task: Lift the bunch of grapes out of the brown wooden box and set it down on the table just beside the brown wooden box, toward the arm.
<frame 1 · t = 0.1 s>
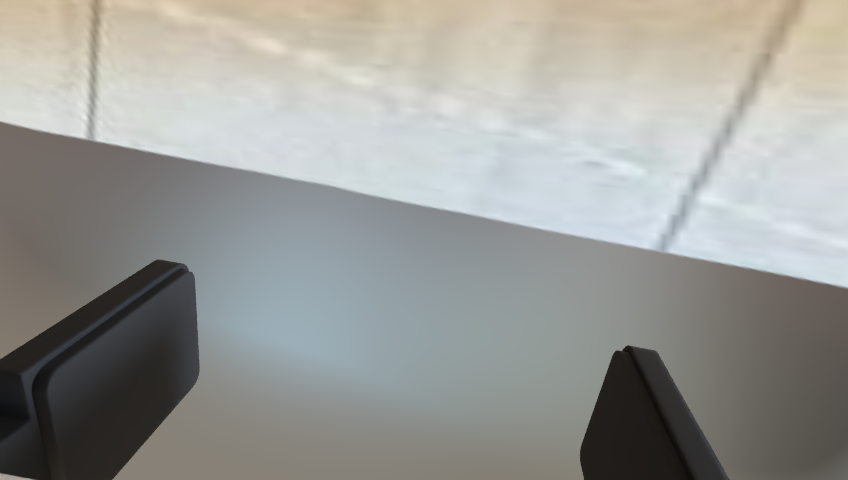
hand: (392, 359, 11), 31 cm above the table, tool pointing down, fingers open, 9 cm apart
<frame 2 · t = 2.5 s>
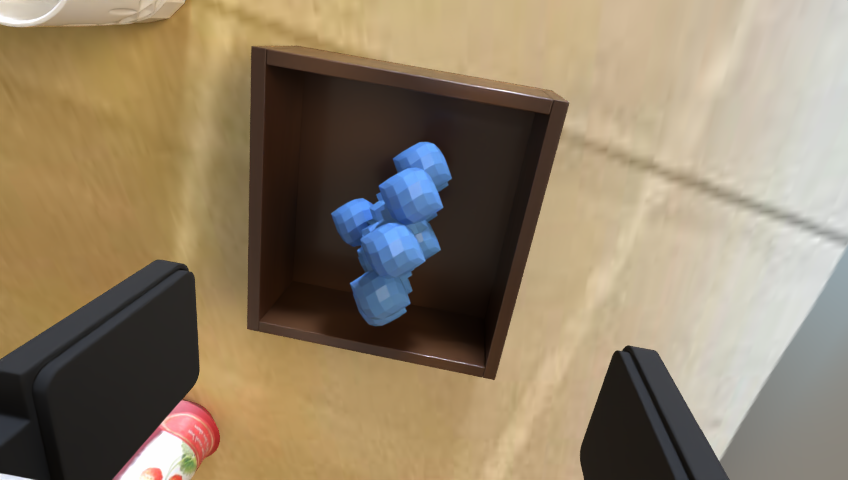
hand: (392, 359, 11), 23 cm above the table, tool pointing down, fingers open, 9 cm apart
brown wooden box: (403, 198, 34), on the table
grapes: (402, 199, 34), resting on brown wooden box
liquor: (192, 418, 45), on the table
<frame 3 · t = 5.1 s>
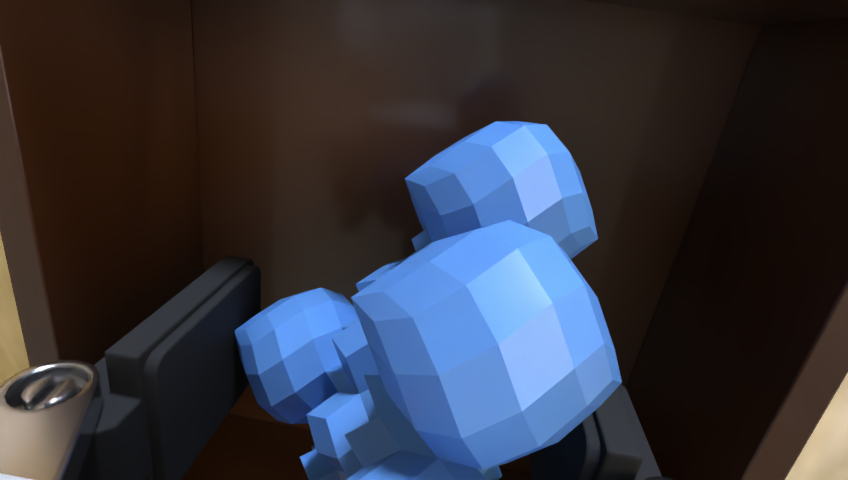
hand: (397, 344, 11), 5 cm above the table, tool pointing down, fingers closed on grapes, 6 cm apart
brown wooden box: (424, 254, 16), on the table
grapes: (423, 258, 16), resting on brown wooden box, touching gripper
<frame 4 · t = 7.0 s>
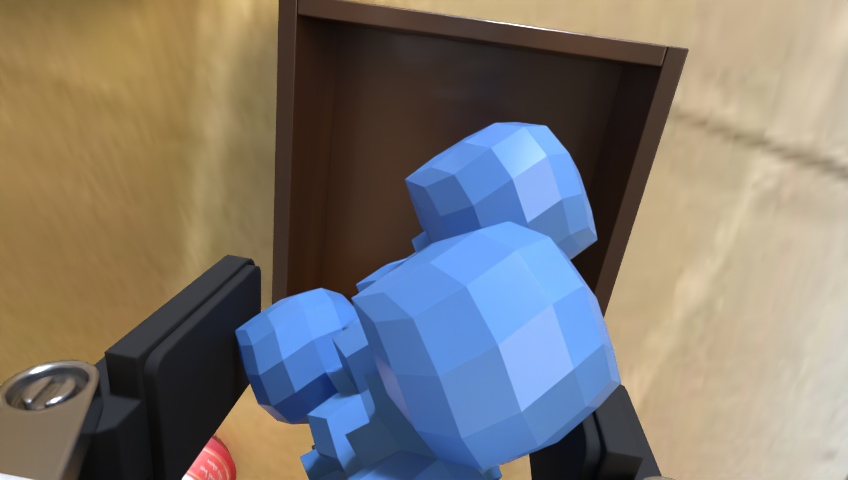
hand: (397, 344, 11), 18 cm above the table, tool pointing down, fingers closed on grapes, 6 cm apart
brown wooden box: (454, 189, 28), on the table
grapes: (423, 258, 16), point 13 cm above the table, touching gripper
liquor: (205, 450, 39), on the table
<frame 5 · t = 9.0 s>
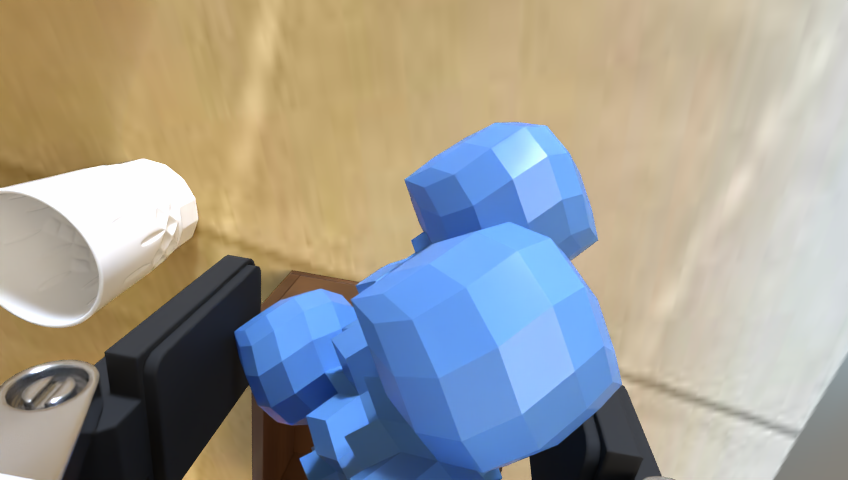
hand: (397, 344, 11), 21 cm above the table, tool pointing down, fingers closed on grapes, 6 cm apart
brown wooden box: (391, 389, 37), on the table
grapes: (423, 259, 16), point 16 cm above the table, touching gripper
white cup: (156, 204, 34), on the table
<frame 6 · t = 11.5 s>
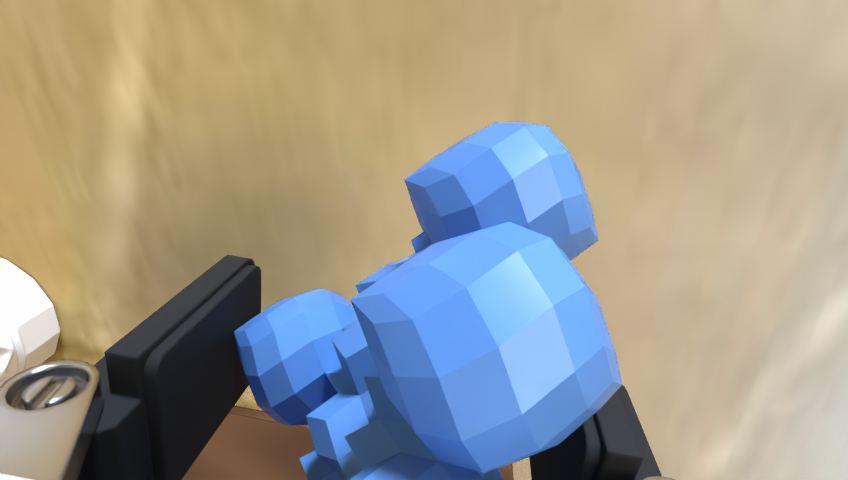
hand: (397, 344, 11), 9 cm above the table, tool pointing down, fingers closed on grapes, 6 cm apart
grapes: (423, 258, 16), point 4 cm above the table, touching gripper
white cup: (2, 308, 24), on the table
when the fingers open (5 cm above the table, at t = 13.2 s): grapes stays where it is, on the table.
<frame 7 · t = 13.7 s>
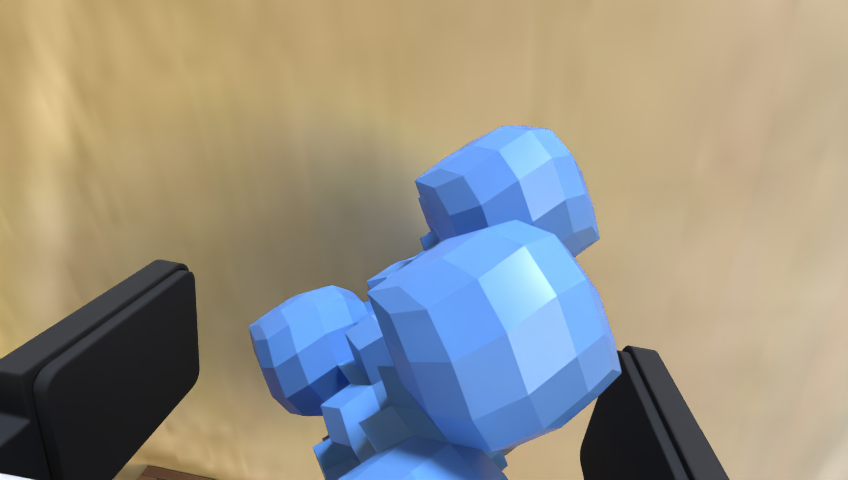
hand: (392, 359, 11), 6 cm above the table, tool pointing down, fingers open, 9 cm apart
grapes: (429, 258, 16), on the table
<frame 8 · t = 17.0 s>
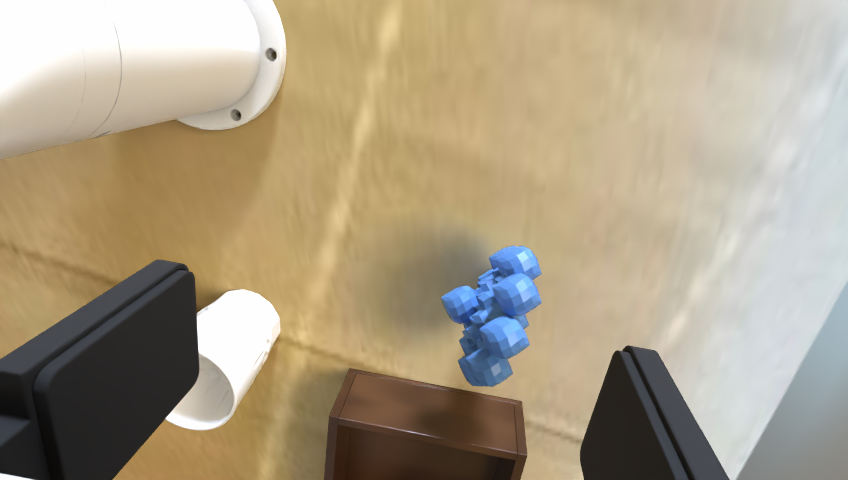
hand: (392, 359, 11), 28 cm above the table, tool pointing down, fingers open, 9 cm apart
brown wooden box: (422, 453, 49), on the table
grapes: (485, 274, 41), on the table
white cup: (248, 319, 46), on the table
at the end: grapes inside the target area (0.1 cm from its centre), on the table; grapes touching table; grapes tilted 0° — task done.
